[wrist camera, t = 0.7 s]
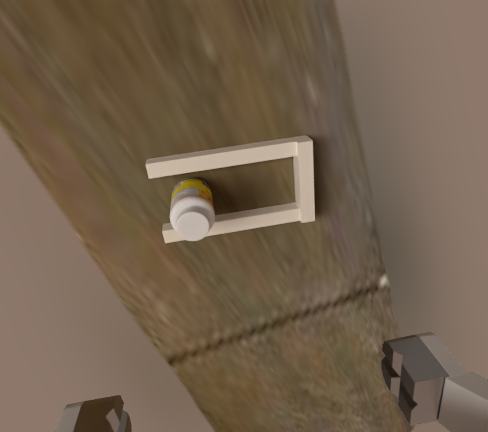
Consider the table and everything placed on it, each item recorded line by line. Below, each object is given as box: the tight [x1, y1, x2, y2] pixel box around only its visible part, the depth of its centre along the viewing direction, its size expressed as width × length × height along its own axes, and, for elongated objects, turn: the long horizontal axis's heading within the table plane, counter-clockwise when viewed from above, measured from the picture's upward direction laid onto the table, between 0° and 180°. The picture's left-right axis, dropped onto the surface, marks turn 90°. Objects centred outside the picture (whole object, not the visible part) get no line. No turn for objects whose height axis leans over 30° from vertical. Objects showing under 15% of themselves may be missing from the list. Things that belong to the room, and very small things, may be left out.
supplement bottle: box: [170, 177, 215, 241], centre depth 47 cm, size 6×6×10 cm
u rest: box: [145, 135, 315, 243], centre depth 51 cm, size 12×22×3 cm, turn 97°
